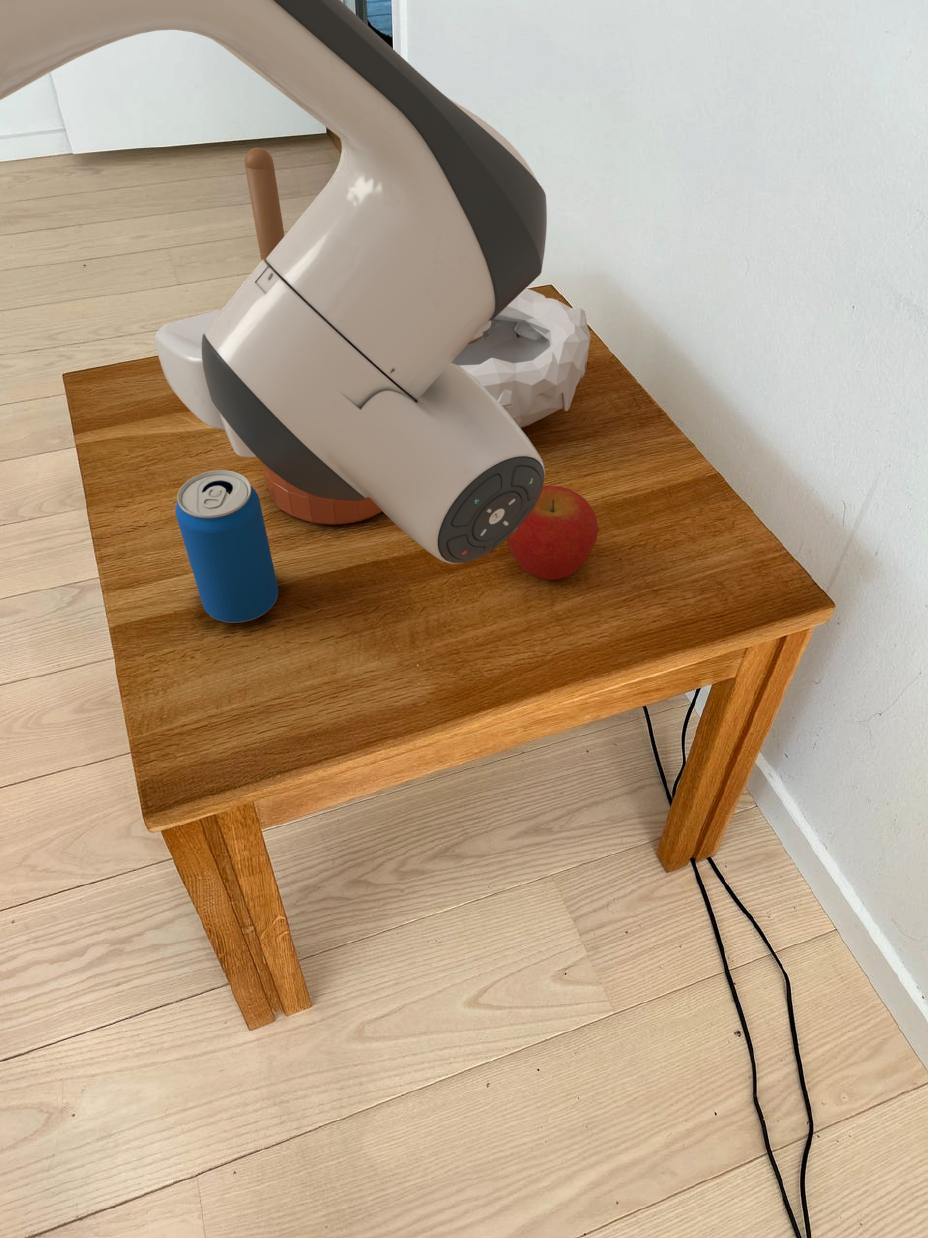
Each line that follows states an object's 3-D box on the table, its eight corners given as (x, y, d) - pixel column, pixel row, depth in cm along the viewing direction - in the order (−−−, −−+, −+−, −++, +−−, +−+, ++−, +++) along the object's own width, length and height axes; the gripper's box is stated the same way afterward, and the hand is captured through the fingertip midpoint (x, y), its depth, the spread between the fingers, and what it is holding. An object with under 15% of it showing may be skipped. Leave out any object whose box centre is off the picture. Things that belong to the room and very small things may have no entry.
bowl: (609, 454, 94) (620, 366, 87) (409, 474, 92) (404, 386, 85) (563, 349, 108) (569, 266, 101) (389, 364, 106) (383, 281, 99)
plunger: (297, 451, 70) (250, 172, 55) (250, 423, 72) (192, 150, 58) (351, 419, 73) (320, 146, 58) (304, 393, 75) (262, 125, 61)
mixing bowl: (335, 548, 85) (328, 492, 80) (239, 486, 91) (226, 431, 86) (437, 478, 92) (435, 422, 87) (341, 425, 98) (335, 371, 93)
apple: (596, 596, 80) (605, 528, 74) (505, 596, 80) (507, 528, 75) (589, 537, 85) (597, 469, 80) (503, 537, 86) (506, 469, 80)
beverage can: (287, 578, 82) (265, 468, 73) (269, 631, 78) (244, 522, 69) (216, 573, 82) (186, 464, 74) (194, 626, 78) (159, 516, 69)
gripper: (505, 282, 58) (402, 204, 66) (191, 374, 51) (120, 274, 59) (503, 371, 63) (407, 288, 71) (214, 467, 56) (145, 362, 64)
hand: (274, 282), depth 65 cm, fingers closed on plunger
